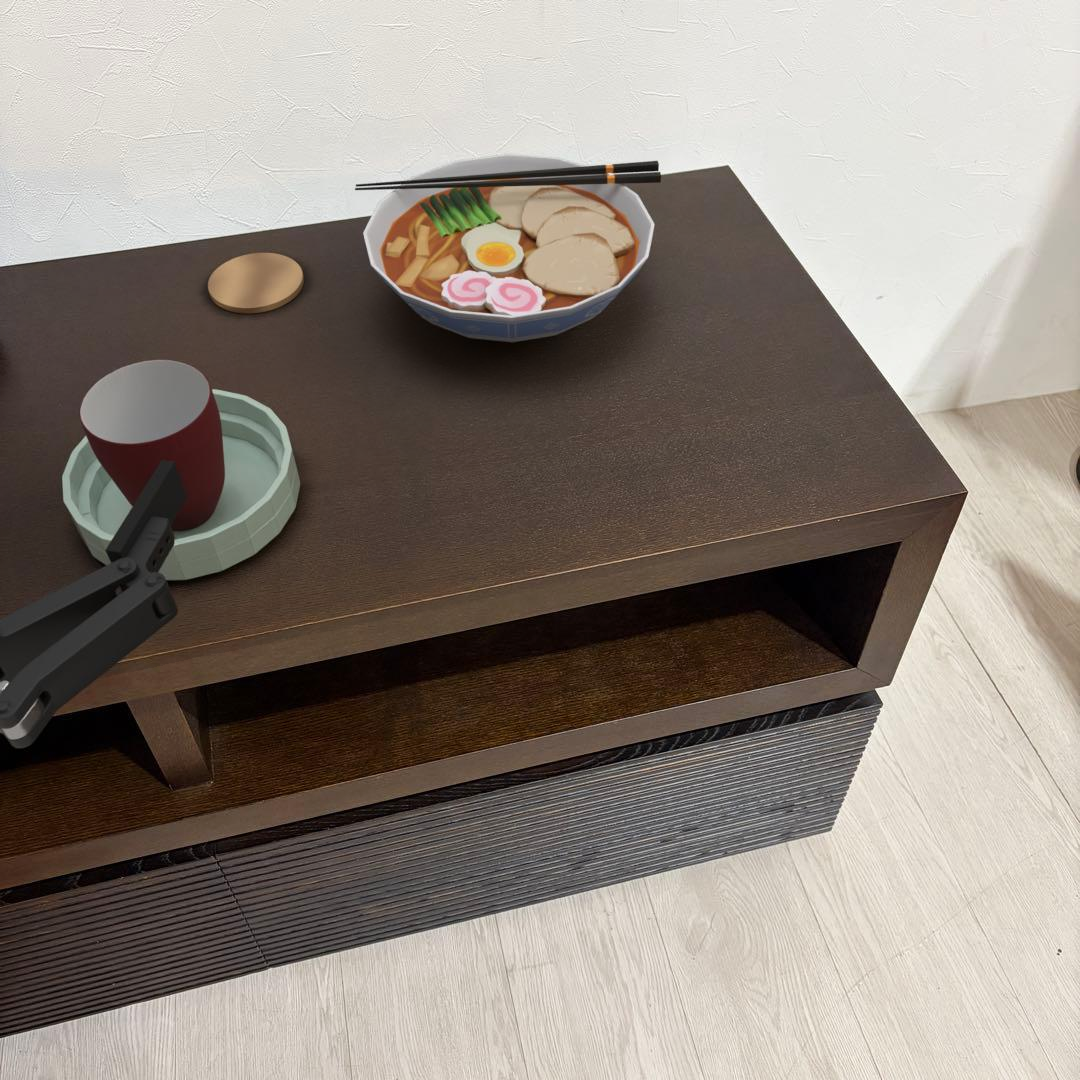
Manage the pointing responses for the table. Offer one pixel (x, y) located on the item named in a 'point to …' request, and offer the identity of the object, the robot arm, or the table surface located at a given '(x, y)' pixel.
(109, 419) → the mug
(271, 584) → the table surface
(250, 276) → the coaster
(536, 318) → the ramen bowl
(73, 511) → the serving bowl
